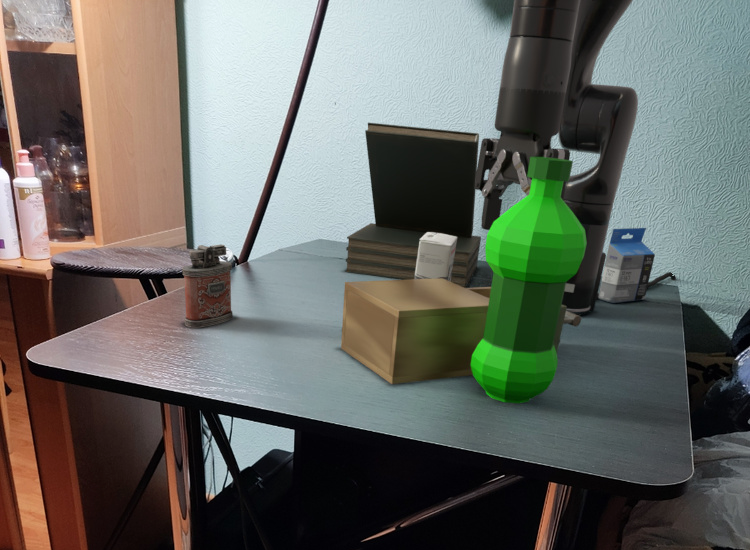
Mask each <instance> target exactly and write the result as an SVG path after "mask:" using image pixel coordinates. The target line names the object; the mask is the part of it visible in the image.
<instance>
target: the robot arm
mask: <svg viewBox="0 0 750 550" xmlns="http://www.w3.org/2000/svg"><path fill="white" fill-rule="evenodd" d="M633 1H634V0H513V9H512V16H511V22H510V29H509V38H508V42H507V47H506V51H505V54H504V59H503V62H502V63H503V64H502V69H501V77H500V84H499V91H498V98H497V104H496V111H495V119H494V128H495V130H496V131H498V132H500V136H499V138H493V137H492V138H491V137H488V138H487V137H485V138H483V139H482V140H481V143H480V148H479V154H478V160H477V173H476V179H475V189H476V190H477V191H480V192H481V195H482V197H483V198H484V199H483V205H482V206H483V207H482V212H481V229H483V230H486V231H489V230H490V228H491V226H492V224H493V222H494V221H495V220H496V219H498V218H499V217H500V216H501V211H502V205H503V199H502V198H501V197H502V196H503V194H504V193H505V192H506V190H507V189H508V187H510V186H511V185H513V184H516V185H520V189H521V192H523V193H525V195H526V196H528V195H529V193H530V188H531V182H532V178H530V177H527V174H528V168H529V162H530V157H547V158H557V159H564V160H570V158H571V152H578V153H586V154H593V155H599V157H598V159H597V162H596V163H595V165H594V166H592V167H590V168H589V169H587V170H585V171H583V172H580V173H577V174H573V175H570V179H569V181H564V182H563V187H562V192H561V198H562V200H563V201H564V202H565V203H566V204H567V206H568V207H569V208H570V209H571V211H572V212H573V213H574V215H575V216H576V218H577V219H578V220H579V222H580V223H581V225H582V226H583V228H584V229H585V234H586V241H587V244H586V249H585V254H584V257H583V259H582V262H581V264H580V266H579V269H578V271H577V273H576V274H575V275H574V276H573V277H571V278H570V279H569V280H568V281H566V285H565V290H564V295H563V300H562V305H564V306H567V308H566V311H568V312H571V313H574V314H576V315H579V316H583V315H587V314H589V313H590V312H594V311H595V306H596V301H598V300H599V299H598V297H599V291H600V286H601V281H602V277H603V272H604V267H605V262H606V257H607V253H605V252H603V251H604V247H605V244H606V243H605V242H606V239H607V233H608V230H609V226H610V221H611V216H612V211H613V207H614V203H615V199H616V194H617V191H618V188H619V183H620V180H621V177H622V172H623V168H624V164H625V160H626V156H627V152H628V150H629V145H630V142H631V139H632V136H633V132H634V127H635V123H636V121H637V120H636V119H637V116H638V106H639V98H638V94H637V91H636V90H635V88H632V87H629V86H620V85H611V84H609V85H608V84H596V83H595V84H594V83H592V81H593V75H594V70H595V67H596V63H597V60H598V57H599V55H600V52H601V50H602V48H603V46H604V44H605V42H606V41H607V39H608V37H609V36H610V34H611V32H612V31H613V29H614V28H615V27H616V25H617V24H618V22H619V21H620V19H622V18H623V17H622V16H624V14H625V12H626V11H627V10H628V8H629V7H630V6H631V4H632V2H633ZM554 136H557V138H558V142H559V145H560V147H561V148H553V147H552V138H553V137H554ZM487 171H488V174H487V179H485V175H486V172H487ZM526 196H525V197H526ZM671 272H672V271H668V272H666V273H663V274H662V275H660V276H658V277H657V276H656V278H654V279H652V281H649V282H648V286H647V289H648V288H651V287H653V286H656V285H657V284H659V283H660V282H662V281H664V280H666V279H668V278H670V280H671V281H676V280H677V278H676V277H677V276H676V274H675V275H674V276H672V275H673V274H672V273H673V272H672V273H671Z"/></svg>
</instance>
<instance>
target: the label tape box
mask: <svg viewBox="0 0 750 550" xmlns="http://www.w3.org/2000/svg"><path fill="white" fill-rule="evenodd" d="M646 230H647V227H630V228H628V227H627V228H624V227H623V228H613V229H612V231H611V235H610V240H609V243H608V248H607V253H606V259H605V263H604V267H603V272H602V276H601V281H600V286H599V291H598V294H599V297H598V299H597V300H601V301H604V302H607V303H611V304H616V303H625V302H635V301H641V300H642V301H643V300H645V298H646V295H647V290H648V288H647V286H648V283H649V282H650V278H651V273H652V270H653V265H654V261H655V256H656V254H655V253H654V252H653V251H652V250H651V249H650V248H649V247H648V246H647V245H645V244H644V242H643V239H644V236H645V232H646ZM627 235H629V236H631V237H630V238H629V237H628V238H623V236H627Z"/></svg>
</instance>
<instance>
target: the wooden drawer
mask: <svg viewBox="0 0 750 550" xmlns="http://www.w3.org/2000/svg"><path fill="white" fill-rule="evenodd" d="M466 289H468V290H471V291H473V292H475V293H478V294H480V295H482V296H485V297H487V298H489V299H490V292H491V286H481V287H480V286H479V287H466ZM566 308H567V306H564V305H561V309H560V314H559V319H558V324H557V329H556V333H555V338H554V343H553V344H554V347H555V350H556V354H558V351H559V346H560V341H561V336H562V331H563V328H564V327H563V326H564V325H565V324H568V325H570V326H572V327H578V326H579V325H580V324H581V322H582V317H581V315H576V314H574V313H571V312H568V311H566Z"/></svg>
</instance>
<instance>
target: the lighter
mask: <svg viewBox="0 0 750 550" xmlns="http://www.w3.org/2000/svg"><path fill="white" fill-rule="evenodd" d="M221 256H222V257H223V256H227V247H226V245H225V244H214V245H209V246H208V245H207V246H206V245H202V244H201V245H198V246H197V248H196V249H192V250H189V259H190V262H191V264H190V265H186V266H183V267H182V275H183V277H184V280H183V281H184V294H185V295H184V298H185V301H184V302H185V317H184V325H185V326H186V327H188V328H194V329H197V328H205V327H210V326H214V325H218V324H222V323H224V322H228V321H230V320H233V310H232V289H231V287H232V286H231V285H232V284H231V279H232V278H231V271H232V270H233V264H232V263H231V262H229V261H226V260H225V261H223V260H221V259H220V257H221Z"/></svg>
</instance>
